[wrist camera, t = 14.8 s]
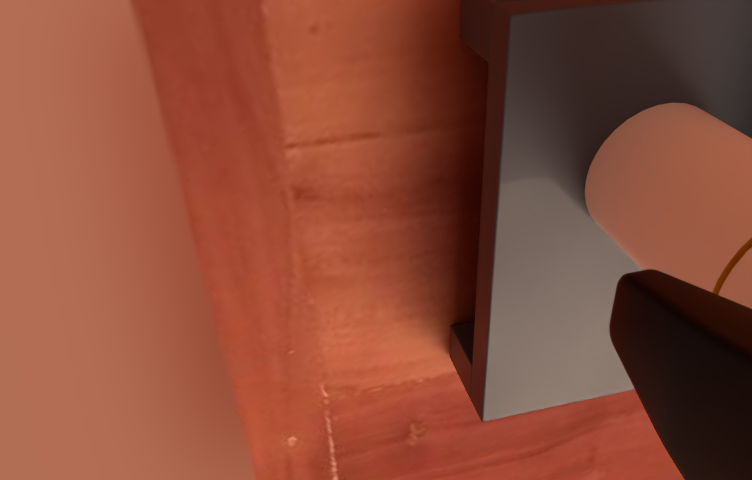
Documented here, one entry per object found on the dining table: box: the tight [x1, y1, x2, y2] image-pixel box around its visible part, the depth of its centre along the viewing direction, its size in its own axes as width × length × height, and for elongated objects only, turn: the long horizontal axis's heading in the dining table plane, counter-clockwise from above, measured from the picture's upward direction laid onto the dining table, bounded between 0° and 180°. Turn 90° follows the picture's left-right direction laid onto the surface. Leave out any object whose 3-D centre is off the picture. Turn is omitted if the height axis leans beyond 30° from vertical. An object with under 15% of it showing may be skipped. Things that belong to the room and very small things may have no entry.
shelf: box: [450, 0, 752, 422], centre depth 21 cm, size 10×14×6 cm
